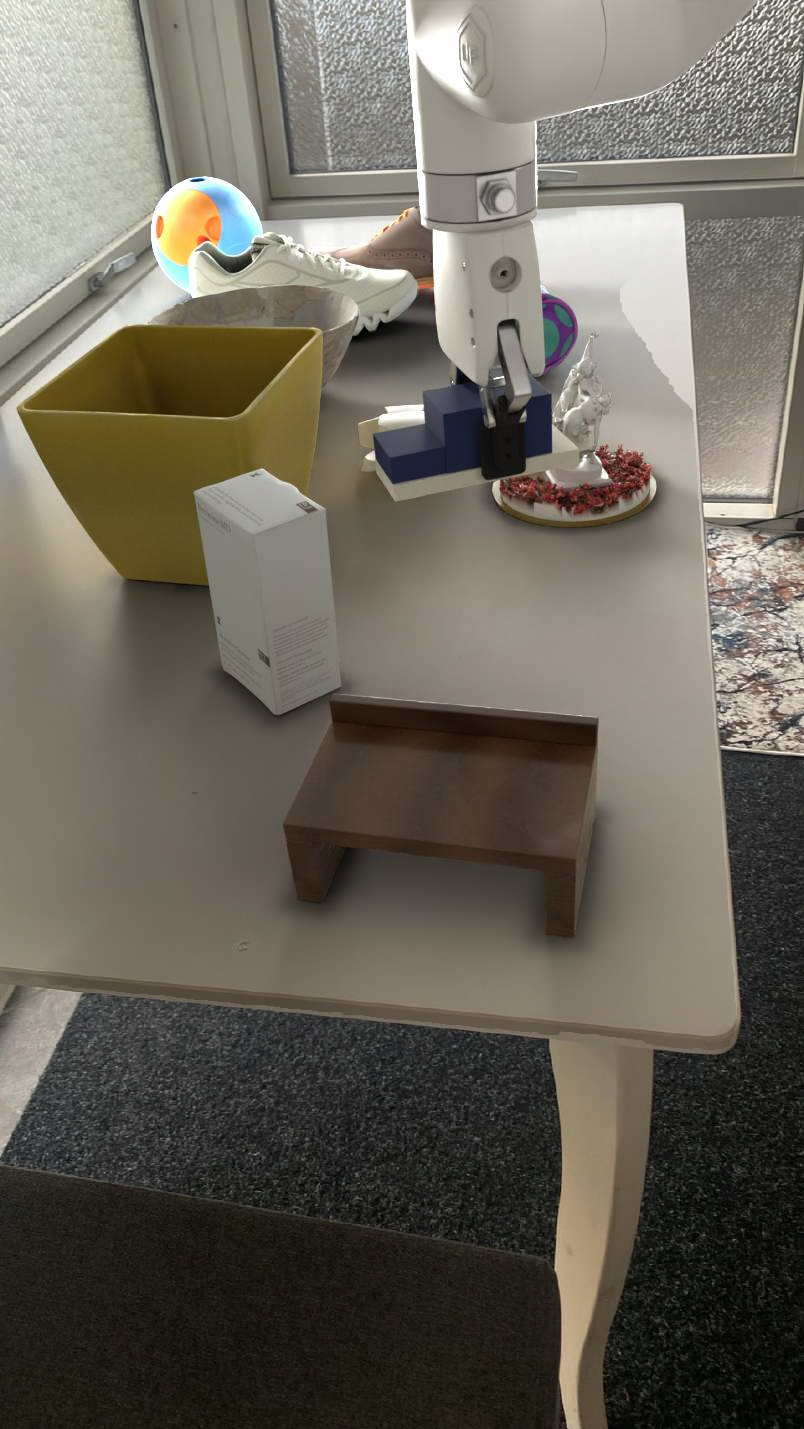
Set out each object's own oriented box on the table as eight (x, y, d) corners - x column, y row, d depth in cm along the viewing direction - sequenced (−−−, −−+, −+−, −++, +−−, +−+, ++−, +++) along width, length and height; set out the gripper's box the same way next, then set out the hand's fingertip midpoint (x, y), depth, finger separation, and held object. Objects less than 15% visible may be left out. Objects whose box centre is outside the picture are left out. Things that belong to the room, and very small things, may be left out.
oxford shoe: (308, 281, 163) (298, 198, 156) (521, 276, 157) (520, 189, 150) (287, 305, 155) (275, 218, 148) (511, 301, 148) (510, 210, 141)
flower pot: (274, 616, 90) (240, 417, 79) (66, 598, 95) (8, 408, 84) (347, 507, 104) (326, 326, 94) (163, 496, 109) (123, 323, 99)
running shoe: (420, 338, 140) (413, 237, 132) (186, 355, 141) (167, 256, 134) (421, 310, 149) (414, 214, 141) (200, 326, 150) (183, 231, 143)
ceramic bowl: (384, 425, 119) (375, 331, 113) (167, 459, 116) (146, 365, 110) (349, 357, 136) (340, 273, 130) (160, 385, 133) (142, 300, 127)
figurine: (626, 445, 110) (633, 298, 101) (680, 513, 98) (693, 353, 89) (477, 466, 109) (471, 319, 100) (513, 537, 97) (510, 377, 88)
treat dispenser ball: (285, 278, 166) (270, 165, 156) (246, 311, 154) (226, 192, 145) (190, 277, 170) (170, 167, 160) (145, 310, 158) (120, 194, 149)
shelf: (595, 814, 68) (599, 716, 64) (574, 938, 61) (576, 836, 56) (346, 787, 72) (332, 692, 68) (296, 899, 64) (277, 801, 60)
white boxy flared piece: (452, 391, 114) (452, 434, 101) (454, 441, 117) (455, 488, 104) (360, 397, 115) (348, 441, 102) (364, 446, 117) (354, 494, 104)
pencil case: (465, 328, 141) (462, 249, 136) (533, 319, 142) (533, 240, 136) (504, 386, 125) (502, 298, 119) (581, 375, 126) (583, 288, 120)
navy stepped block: (551, 437, 86) (551, 365, 82) (579, 464, 81) (579, 389, 78) (376, 472, 83) (368, 400, 80) (395, 501, 79) (387, 426, 76)
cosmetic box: (221, 671, 84) (183, 490, 75) (289, 640, 87) (259, 462, 78) (280, 721, 78) (246, 532, 69) (350, 687, 81) (326, 500, 72)
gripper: (585, 211, 65) (583, 495, 76) (489, 164, 79) (498, 410, 90) (464, 231, 64) (478, 517, 75) (387, 179, 78) (408, 428, 88)
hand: (489, 456), depth 82 cm, fingers closed on navy stepped block, 5 cm apart
